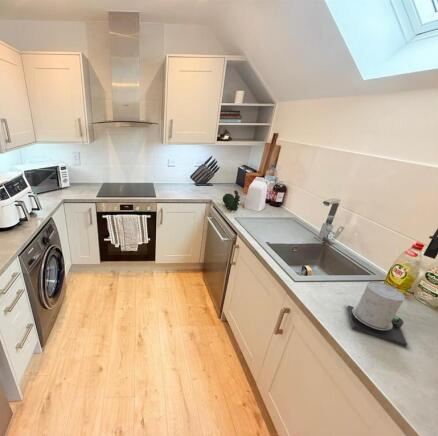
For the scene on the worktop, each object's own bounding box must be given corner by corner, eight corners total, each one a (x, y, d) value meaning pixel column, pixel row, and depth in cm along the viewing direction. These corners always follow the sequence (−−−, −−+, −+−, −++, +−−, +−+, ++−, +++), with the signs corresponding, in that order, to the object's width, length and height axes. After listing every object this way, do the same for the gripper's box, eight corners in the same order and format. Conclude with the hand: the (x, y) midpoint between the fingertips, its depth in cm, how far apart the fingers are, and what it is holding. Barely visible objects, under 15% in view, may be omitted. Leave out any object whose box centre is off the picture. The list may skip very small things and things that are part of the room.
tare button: (396, 318, 87) (397, 315, 86) (398, 322, 85) (399, 320, 84) (386, 315, 88) (388, 312, 87) (388, 319, 86) (390, 317, 85)
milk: (244, 207, 198) (249, 177, 188) (250, 204, 205) (255, 175, 195) (258, 211, 190) (264, 180, 179) (264, 208, 197) (270, 177, 187)
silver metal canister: (395, 331, 80) (412, 303, 75) (362, 323, 83) (375, 296, 78) (380, 311, 89) (394, 284, 84) (350, 304, 91) (362, 279, 87)
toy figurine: (240, 215, 187) (229, 202, 209) (245, 193, 178) (233, 181, 199) (228, 215, 186) (218, 202, 208) (232, 193, 177) (222, 182, 199)
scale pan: (387, 314, 88) (387, 313, 88) (396, 335, 79) (397, 334, 79) (350, 303, 93) (350, 302, 93) (355, 322, 84) (355, 321, 84)
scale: (397, 322, 88) (400, 316, 87) (409, 348, 78) (413, 342, 77) (347, 306, 95) (349, 301, 94) (352, 329, 85) (355, 323, 84)
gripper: (460, 186, 84) (431, 239, 92) (438, 197, 72) (407, 255, 81) (496, 192, 78) (461, 247, 86) (477, 204, 66) (439, 267, 75)
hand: (435, 251), depth 83 cm, fingers open, 13 cm apart
